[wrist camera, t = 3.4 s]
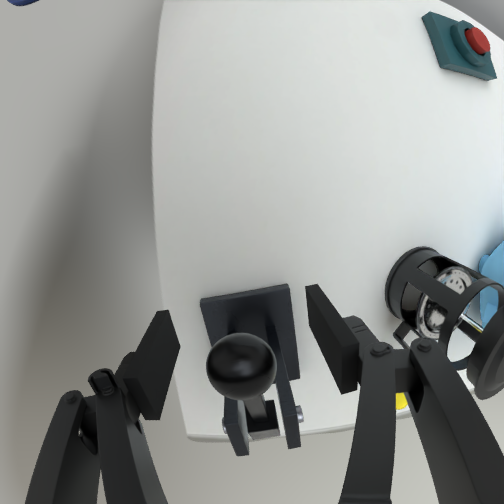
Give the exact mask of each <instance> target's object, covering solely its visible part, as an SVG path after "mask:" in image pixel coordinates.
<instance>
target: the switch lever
mask: <svg viewBox="0 0 504 504" xmlns="http://www.w3.org/2000/svg"><path fill="white" fill-rule="evenodd" d="M206 370H207V375H208V378H209V381H210V383H211V384H212V386H213V387H214V388H215V389H216V390H217V391H218V392H219V393H220V394H222V395H223V396H225V397H227V398H230V399H234V400H243V402H244V407H245V415H246V423H247V431H248V434H249V435H250V436H251V438H252V439H253V440H255V439H262V438H269V437H275V436H280V430H279V425H278V419H277V413H276V408H275V403H274V400H268V401H265V399H264V396H263V393H264V392H266V391H267V390H268V389H269V387H270V386H271V385H272V383H273V381H274V378H275V376H276V371H277V363H276V358H275V355H274V353H273V351H272V349H271V348H270V346H269V345H268V344H267V343H266V342H265V341H264V340H262V339H261V338H259V337H257V336H255V335H252V334H249V333H234V334H230V335H227V336H225V337H223V338H222V339H220V340H219V341H218V342H216V343H215V345H214V346H213V347H212V348H211V350H210V352H209V354H208V357H207V362H206Z"/></svg>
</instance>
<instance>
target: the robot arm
mask: <svg viewBox="0 0 504 504" xmlns="http://www.w3.org/2000/svg"><path fill="white" fill-rule="evenodd" d="M305 289H306V299H307V308H308V319H309V326H310V328H311V330H312V332H313V335H314V337H315V339H316V341H317V343H318V345H319V347H320V349H321V352H322V354H323V356H324V358H325V360H326V362H327V364H328V367H329V369H330V371H331V373H332V375H333V377H334V380H335V382H336V384H337V386H338V388H339V390H340V393H341V395H342V394H345V393H349V392H352V391H356V390H357V385H358V383H359V384H360V386H361V387H360V395H359V403H358V411H357V418H356V424H355V431H354V436H353V442H352V448H351V453H350V458H349V463H348V467H347V472H346V476H345V481H344V485H343V489H342V493H341V496H340V500H339V503H338V504H392V501H391V499H390V493H391V485H392V476H393V466H394V453H395V431H396V393H404V395H405V398H406V400H407V403H408V406H409V408H410V411H411V414H412V417H413V419H414V422H415V425H416V428H417V430H418V434H419V436H420V439H421V442H422V445H423V449H424V452H425V455H426V458H427V461H428V464H429V468H430V471H431V475H432V478H433V482H434V485H435V489H436V493H437V497H438V501H439V504H504V456H503V453H502V451H501V449H500V447H499V445H498V443H497V441H496V439H495V437H494V435H493V433H492V431H491V429H490V427H489V426H488V424H487V422H486V420H485V418H484V416H483V414H482V413H481V411H480V409H479V407H478V406H477V404H476V402H475V401H474V399H473V397H472V395H471V394H470V392H469V390H468V389H467V387H466V385H465V384H464V382H463V380H462V379H461V377H460V376H459V374H458V373H457V371H456V369H455V368H454V366H453V365H452V363H451V362H450V360H449V359H448V357H447V356H446V354H445V353H444V351H443V350H442V348H441V347H440V345H439V344H438V343H437V342H436V341H435V340H434V339H432V338H428V337H420V338H417V339H415V340H414V341H412V343H411V345H410V348H408V349H393V347H392V346H391V345H390V344H387V343H385V342H379V340H378V339H377V338H376V337H375V336H374V334H373V333H372V332H371V331H370V329H369V328H368V327H367V326H366V325H365V323H364V322H363V321H362V320H361V319H360V318H358V317H356V316H350V317H346V318H342V317H341V316H340V314H339V313H338V312H337V310H336V309H335V307H334V306H333V305H332V303H331V302H330V300H329V299H328V298H327V296H326V295H325V294H324V292H323V291H322V289H321V288H320V287H319V285H318V284H314V285H310V286H305ZM179 350H180V344H179V341H178V338H177V335H176V332H175V329H174V326H173V323H172V320H171V316H170V313H169V310H163V311H157V312H156V314H155V316H154V318H153V320H152V322H151V323H150V326H149V327H148V329H147V331H146V333H145V335H144V336H143V338H142V340H141V342H140V344H139V346H138V348H137V350H136V352H130V353H129V354H127V355H126V356H125V357H124V358H123V360H122V362H121V365H120V366H119V367H118V370H117V371H116V373H115V375H114V374H113V372H112V370H110V369H106V368H104V369H99V370H97V371H95V372H93V373H92V374H91V375H90V376H89V378H88V382H89V383H90V385H91V387H92V389H93V390H94V392H95V394H96V395H93V396H88V397H83V395H82V394H81V392H80V391H78V390H73V391H69V392H67V393H66V394H64V395H63V396H62V397H61V399H60V401H59V404H58V406H57V408H56V411H55V413H54V416H53V418H52V421H51V423H50V426H49V428H48V431H47V434H46V436H45V439H44V442H43V445H42V447H41V450H40V453H39V456H38V459H37V462H36V465H35V469H34V472H33V475H32V479H31V483H30V486H29V489H28V494H27V497H26V501H25V504H97V494H98V485H99V477H100V470H101V472H102V479H103V485H104V491H105V496H106V501H107V504H168V502H167V500H166V497H165V495H164V492H163V490H162V487H161V484H160V482H159V479H158V476H157V473H156V470H155V467H154V464H153V461H152V457H151V455H150V451H149V448H148V445H147V441H146V437H145V434H144V430H143V427H142V424H141V422H140V420H139V416H140V413H142V415H143V417H144V419H145V420H160V417H161V413H162V409H163V406H164V402H165V399H166V395H167V391H168V387H169V384H170V381H171V377H172V374H173V370H174V367H175V363H176V360H177V357H178V353H179ZM79 431H80V435H79Z"/></svg>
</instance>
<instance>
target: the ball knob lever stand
mask: <svg viewBox="0 0 504 504" xmlns="http://www.w3.org/2000/svg"><path fill="white" fill-rule="evenodd" d="M200 307H201V311H202V314H203V318H204V322H205V325H206V329H207V332H208V336H209V339H210V343H211V346H212V347H213V346H214V345H215V343H216V342H218V341H219V340H220V339H222V338H223V337H225V336H227V335H230V334H234V333H249V334H252V335H255V336H257V337H259V338H261V339H262V340H264V341H265V342H266V343H267V344H268V345H269V346H270V348H271V349H272V351H273V353H274V355H275V358H276V363H277V371H276V376H275V378H274V381H273V383H272V384H275V383H276V388H277V393H278V398H279V404H280V409H281V414H282V419H283V425H284V430H285V435H286V440H287V445H288V449H292V448H297V447H301V442H300V432H299V423H301V422H303V421H304V420H303V413H302V409H301V406H300V405H299V406H295V402H294V398H293V394H292V390H291V386H290V382H289V381H291V380H296V379H300V371H299V362H298V353H297V344H296V336H295V327H294V319H293V311H292V303H291V296H290V288H289V286H288V284H284V285H279V286H273V287H268V288H262V289H257V290H251V291H245V292H240V293H234V294H228V295H222V296H216V297H210V298H204V299H201V301H200ZM222 426H223V430H224V433H225V434H228V437H229V439H230V441H231V444H232V446H233V448H234V451H235V453H236V455H237V456H245V455H249V442H248V431H247V423H246V415H245V407H244V402H243V400H234V399H230V398H227V397H225V398H224V417H223V419H222Z"/></svg>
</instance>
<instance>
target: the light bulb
mask: <svg viewBox="0 0 504 504" xmlns="http://www.w3.org/2000/svg"><path fill="white" fill-rule="evenodd" d="M407 404H408V403H407V400H406V398H405V395H404V393H396V409H398V410H400V409H403V408H405V407H406V406H407Z"/></svg>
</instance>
